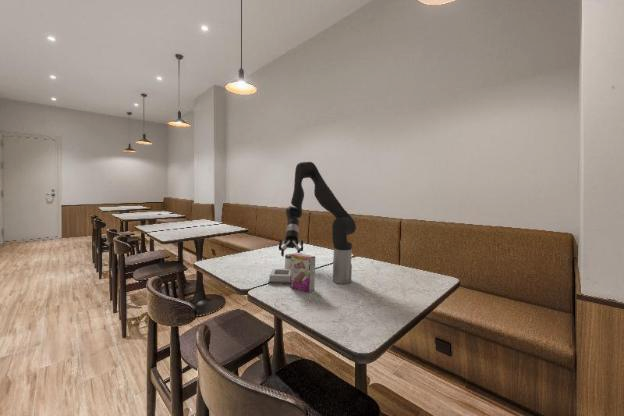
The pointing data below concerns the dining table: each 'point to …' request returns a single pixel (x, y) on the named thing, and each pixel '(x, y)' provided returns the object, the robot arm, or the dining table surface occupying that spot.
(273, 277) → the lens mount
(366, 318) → the dining table surface
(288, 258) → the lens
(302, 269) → the candy bar box
